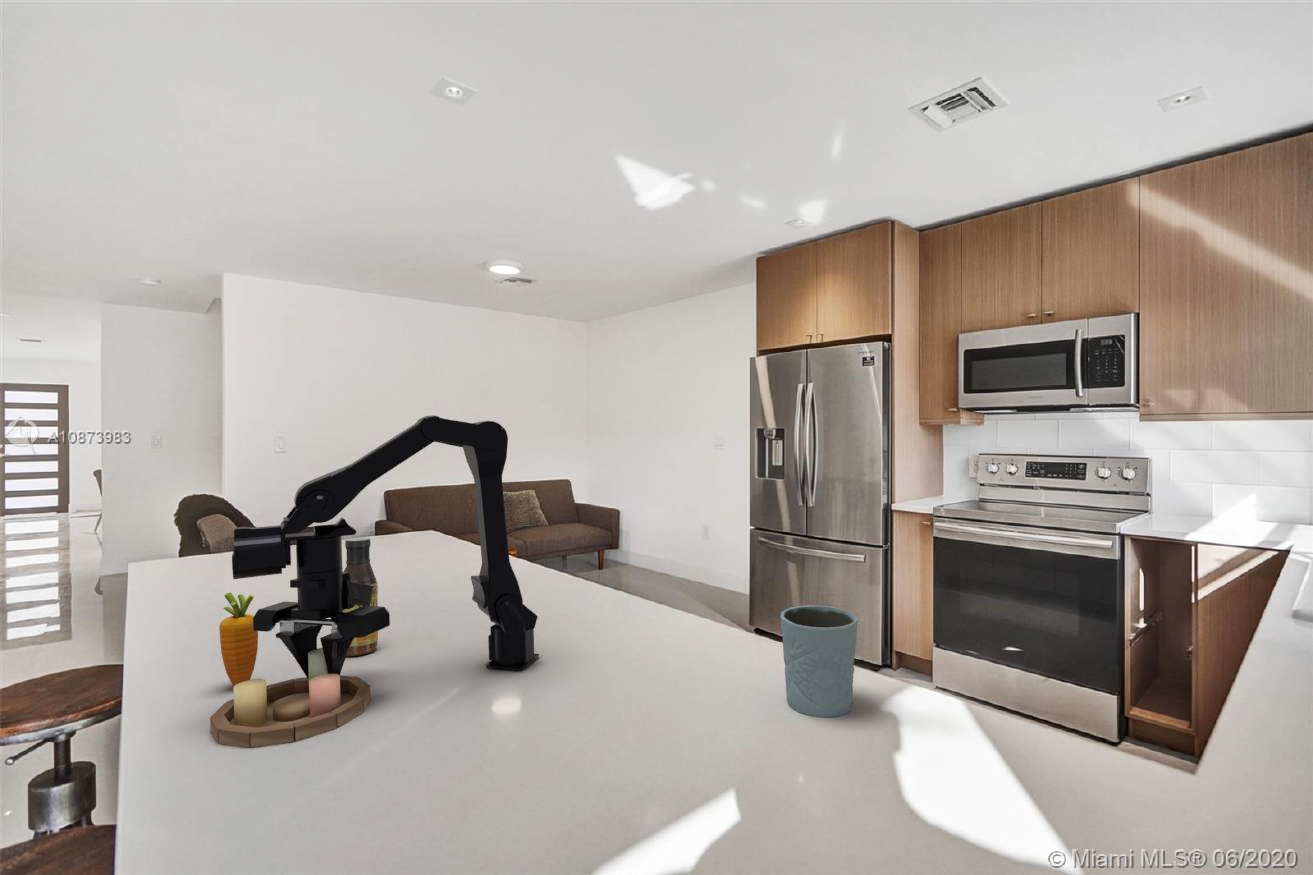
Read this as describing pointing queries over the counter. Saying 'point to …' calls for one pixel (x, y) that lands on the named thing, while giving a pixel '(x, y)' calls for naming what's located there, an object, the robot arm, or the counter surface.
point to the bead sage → (316, 663)
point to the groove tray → (294, 728)
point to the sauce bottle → (363, 575)
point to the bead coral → (324, 694)
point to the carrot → (238, 640)
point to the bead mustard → (250, 703)
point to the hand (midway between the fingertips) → (323, 679)
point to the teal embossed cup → (819, 659)
